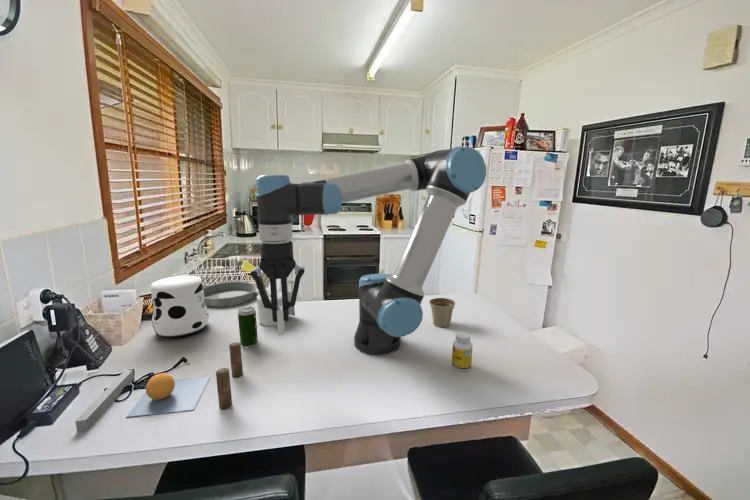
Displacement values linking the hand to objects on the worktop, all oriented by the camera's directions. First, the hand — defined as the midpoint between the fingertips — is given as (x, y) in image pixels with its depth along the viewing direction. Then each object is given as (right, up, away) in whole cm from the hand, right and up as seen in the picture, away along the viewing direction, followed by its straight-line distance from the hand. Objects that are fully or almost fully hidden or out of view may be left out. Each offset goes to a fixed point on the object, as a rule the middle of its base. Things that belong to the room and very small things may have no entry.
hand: (281, 332), depth 87 cm
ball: (-29, -12, -3) cm, 31 cm away
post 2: (-14, -13, +7) cm, 21 cm away
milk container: (-44, -8, +35) cm, 57 cm away
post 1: (-12, -16, -6) cm, 21 cm away
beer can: (-17, -10, +25) cm, 32 cm away
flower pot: (+48, -7, +40) cm, 63 cm away
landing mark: (-27, -15, -2) cm, 31 cm away
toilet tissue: (-15, -6, +44) cm, 47 cm away
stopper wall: (-40, -16, -4) cm, 43 cm away
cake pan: (-42, -1, +68) cm, 80 cm away
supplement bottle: (+48, -13, +11) cm, 51 cm away
